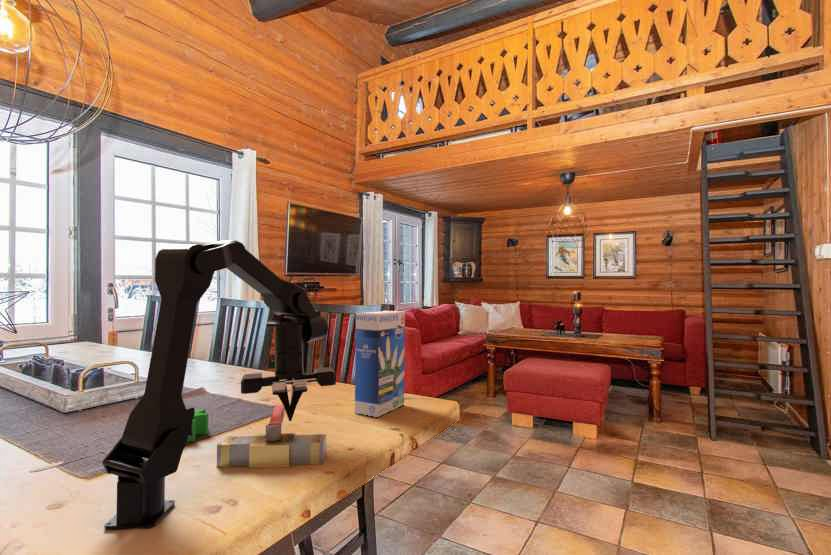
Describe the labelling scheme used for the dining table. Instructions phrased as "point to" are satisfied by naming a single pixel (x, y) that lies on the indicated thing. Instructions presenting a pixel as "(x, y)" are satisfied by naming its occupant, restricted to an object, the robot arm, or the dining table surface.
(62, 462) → the butter knife
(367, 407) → the string lights box
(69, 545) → the dining table surface
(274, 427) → the lever
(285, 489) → the dining table surface
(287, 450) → the block
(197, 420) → the pipe clamp
